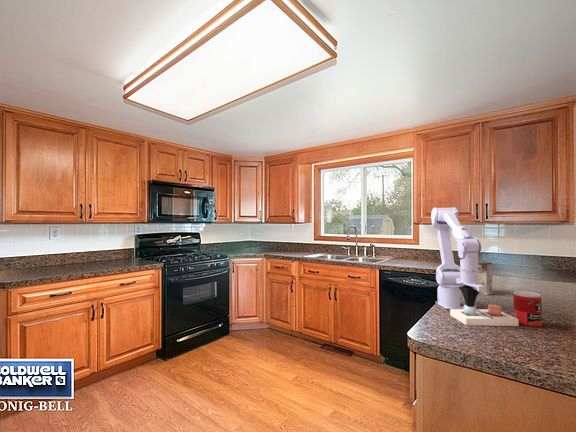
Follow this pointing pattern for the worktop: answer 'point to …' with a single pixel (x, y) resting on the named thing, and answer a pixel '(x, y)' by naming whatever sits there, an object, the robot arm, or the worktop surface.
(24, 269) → the worktop surface
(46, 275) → the worktop surface
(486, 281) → the coffee box
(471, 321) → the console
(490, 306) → the orange rounded piece
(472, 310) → the pale blue rounded piece
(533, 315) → the canned food
